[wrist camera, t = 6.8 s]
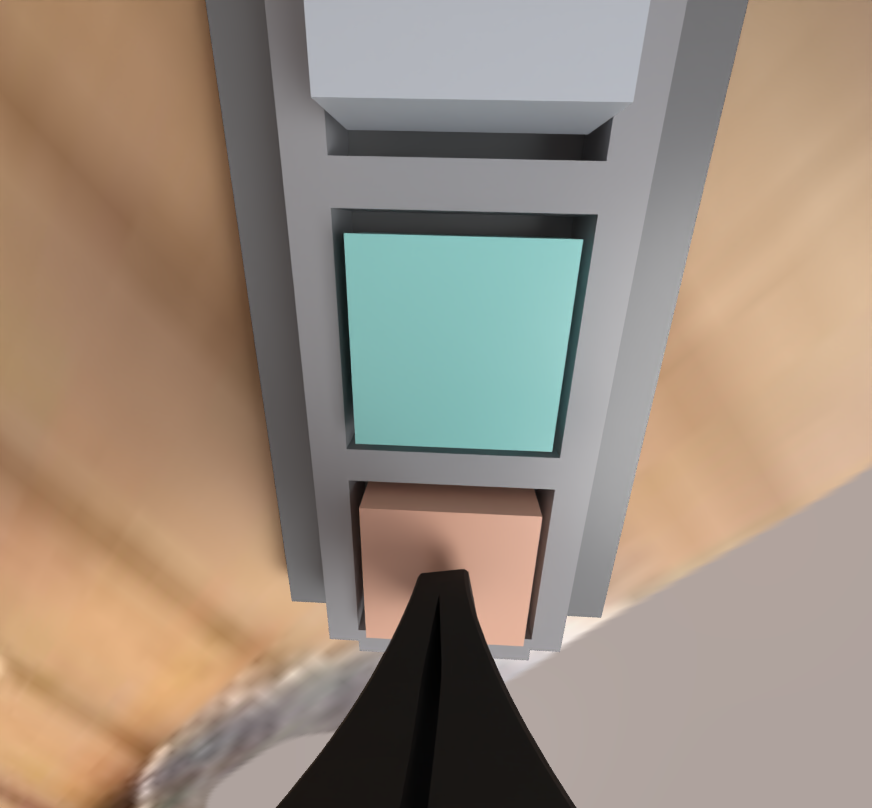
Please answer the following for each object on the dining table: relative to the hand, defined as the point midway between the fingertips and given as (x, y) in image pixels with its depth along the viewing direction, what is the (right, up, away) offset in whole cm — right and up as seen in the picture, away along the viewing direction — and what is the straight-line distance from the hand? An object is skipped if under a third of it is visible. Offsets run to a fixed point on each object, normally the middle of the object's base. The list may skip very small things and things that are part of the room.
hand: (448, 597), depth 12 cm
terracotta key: (0, +1, +3) cm, 3 cm away
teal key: (0, +8, 0) cm, 8 cm away
